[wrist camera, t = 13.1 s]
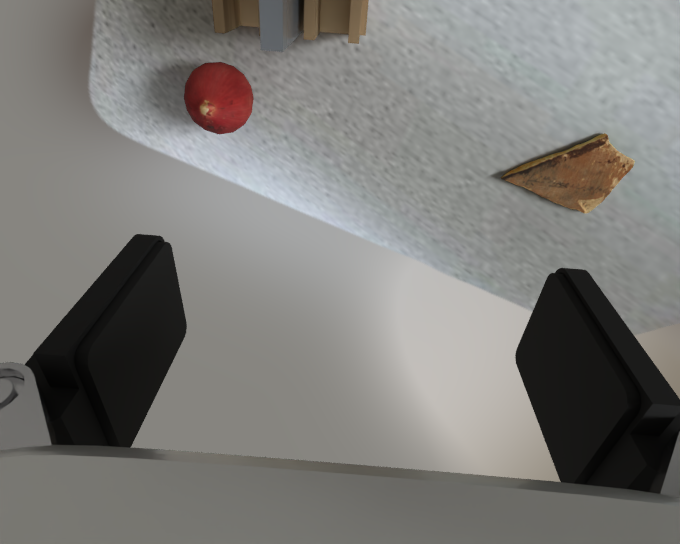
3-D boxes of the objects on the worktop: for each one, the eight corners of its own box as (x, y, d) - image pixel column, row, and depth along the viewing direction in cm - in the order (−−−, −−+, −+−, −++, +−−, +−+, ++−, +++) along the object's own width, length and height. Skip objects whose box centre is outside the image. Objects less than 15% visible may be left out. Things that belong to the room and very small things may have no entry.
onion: (254, 127, 43) (234, 156, 36) (197, 109, 42) (165, 136, 36) (265, 66, 40) (245, 86, 33) (203, 46, 39) (170, 62, 32)
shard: (497, 172, 45) (501, 179, 43) (544, 102, 41) (551, 107, 39) (582, 211, 47) (589, 219, 46) (635, 148, 43) (645, 154, 41)
